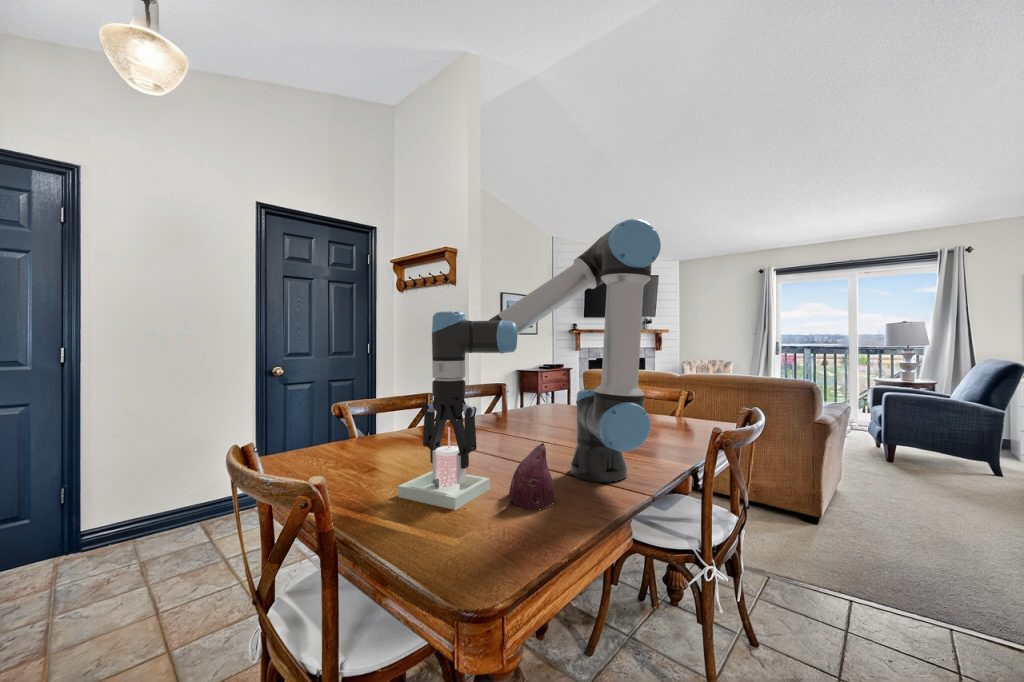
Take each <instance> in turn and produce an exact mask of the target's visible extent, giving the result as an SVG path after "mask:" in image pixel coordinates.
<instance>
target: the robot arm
mask: <svg viewBox="0 0 1024 682" xmlns="http://www.w3.org/2000/svg"><path fill="white" fill-rule="evenodd" d="M661 244H662V243H661V238H660V235H659V233H658V231H657V230H656V229H655V228H654V227H653V226H652V225H651V224H650V223H649V222H647V221H646V220H643V219H640V218H630V219H625V220H623V221H621V222H618V223H616V224H614V226H613V227H612V228H611V229H610V230H609V231H608V232H606V233H605V234H603V235H602V236H600V237H599V238H598V239H596V241H595V242H594V243H593V244H592V245H591V246H589V248H587V249H586V250H585V251H584V252H583V253H582V254H580V255H579V256H577V257H576V258H575V259H573V264H572V265H570V266H569V267H567V268H566V269H564V270H563V271H561V272H559V273H558V274H557V275H555V276H553V277H552V278H551V279H549V280H547V281H546V282H544V283H543V284H541V285H540V286H538V287H537V288H535V289H534V290H532V291H530V293H528V294H526V295H524V296H523V297H522V298H520V299H519V300H517V301H516V302H514V303H512V304H511V305H510V306H508V307H507V308H505V309H503V310H502V311H500V312H499V313H497V314H496V315H494V316H493V317H490V319H488V320H467V318H466V315H465V313H464V312H463V311H437V312H435V313H434V314H433V315H432V323H431V324H432V325H431V326H432V327H431V328H432V329H431V351H432V352H431V355H432V356H431V357H432V359H431V360H432V363H431V367H432V371H431V372H432V374H431V375H432V378H433V379H434V380H433V381H432V382H431V384H432V387H431V389H432V391H431V394H432V396H433V400H432V402H431V403H429V402H428V403H425V404H423V405H422V410H423V415H424V416H423V417H424V419H423V435H422V446H424V447H426V448H428V449H429V450H430V453H429V454H430V457H429V458H430V463H431V464H432V471H433V479H434V480H436V479H438V478H439V477H438V462H437V454H436V449H437V448H439V447H442V445H441V443H442V438H443V435H444V430H445V426H446V423H447V422H448V421H449V422H450V425H451V426H452V428H453V432H454V433H453V434H454V436H455V440H456V446H458V449H459V453H458V454H457V455H456V466H457V484H461V483H463V482H465V481H466V474H467V468H469V466H470V454H471V453H472V452H474V451H476V450H477V449H478V448H477V434H476V413H477V410H478V409H477V407H476V406H469V405H467V403H466V400H465V396H466V381H465V379H464V378H466V354H507V353H510V354H511V353H514V352H516V350H517V347H518V335H519V334H521V333H523V332H524V331H525V330H528V329H529V328H530V327H532V326H533V325H535V324H536V323H538V322H539V321H540V320H542V319H544V318H546V317H547V316H548V315H550V314H551V313H553V312H554V311H556V310H557V309H559V308H561V306H563V305H566V303H568V302H570V301H571V300H572V299H574V298H576V297H577V296H578V295H580V294H582V293H583V292H585V291H586V290H587V289H591V290H594V289H596V288H597V287H599V286H600V285H602V284H605V285H606V296H605V311H604V312H605V314H604V329H603V330H604V331H603V349H602V365H601V367H602V368H601V383H600V384H599V385H598V386H597V387H596V388H595V389H582V390H579V391H578V392H577V394H576V401H575V405H576V447H575V450H574V453H573V456H572V460H571V462H570V474H571V475H572V476H573V477H575V478H577V479H580V480H583V481H587V482H594V483H595V482H596V483H612V481H615V482H619V481H618V480H620V481H623V480H624V478H625V479H626V478H627V477H628V465H627V463H626V460H625V459H626V458H625V456H624V453H626V452H631V451H634V450H637V449H638V448H640V447H641V445H643V444H644V443H645V442H646V440H647V439H648V437H649V435H650V433H651V427H652V424H651V418H650V415H649V414H648V412H647V411H646V410H645V408H644V407H645V406H644V405H645V403H644V402H645V393H644V392H643V391H642V389H641V388H640V387H639V372H640V357H641V356H640V355H641V336H642V322H643V321H642V320H643V319H642V317H643V301H644V299H643V298H644V287H645V285H646V284H648V282H650V281H651V278H652V276H651V275H652V264H653V263H654V262H655V261H656V259H658V257H659V255H660V253H661V247H662V245H661ZM622 479H623V480H622Z"/></svg>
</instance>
